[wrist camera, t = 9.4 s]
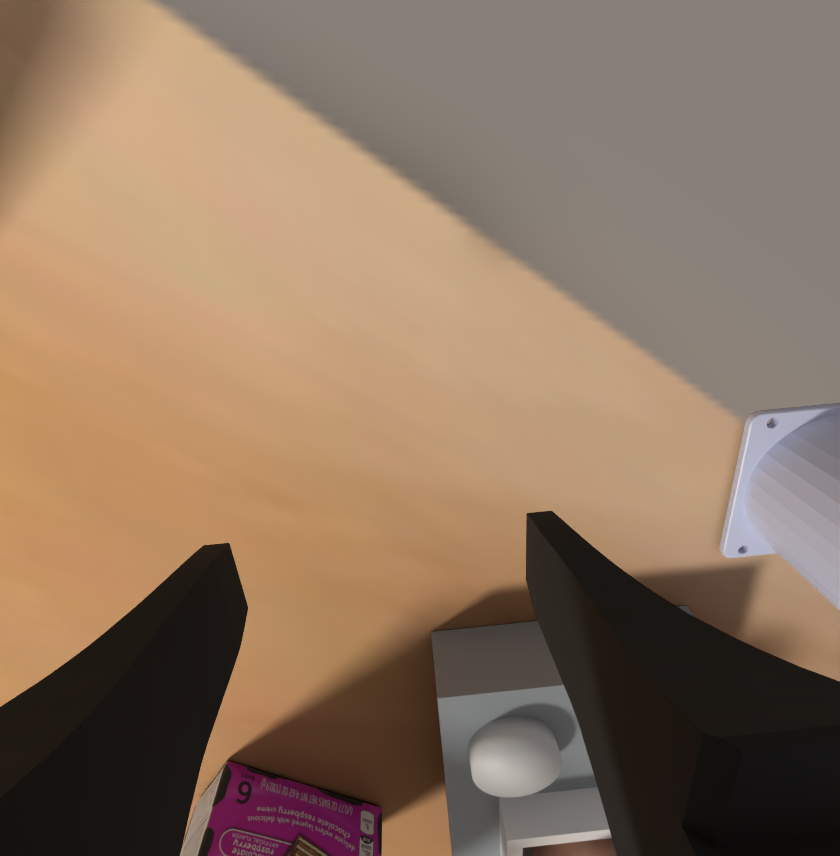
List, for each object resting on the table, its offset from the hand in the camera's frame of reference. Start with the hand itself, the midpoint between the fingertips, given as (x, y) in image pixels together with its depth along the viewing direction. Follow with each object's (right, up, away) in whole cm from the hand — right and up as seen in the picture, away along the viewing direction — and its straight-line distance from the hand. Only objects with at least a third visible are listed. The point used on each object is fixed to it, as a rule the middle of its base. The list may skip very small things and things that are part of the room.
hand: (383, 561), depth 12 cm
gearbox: (+9, -16, +19) cm, 27 cm away
